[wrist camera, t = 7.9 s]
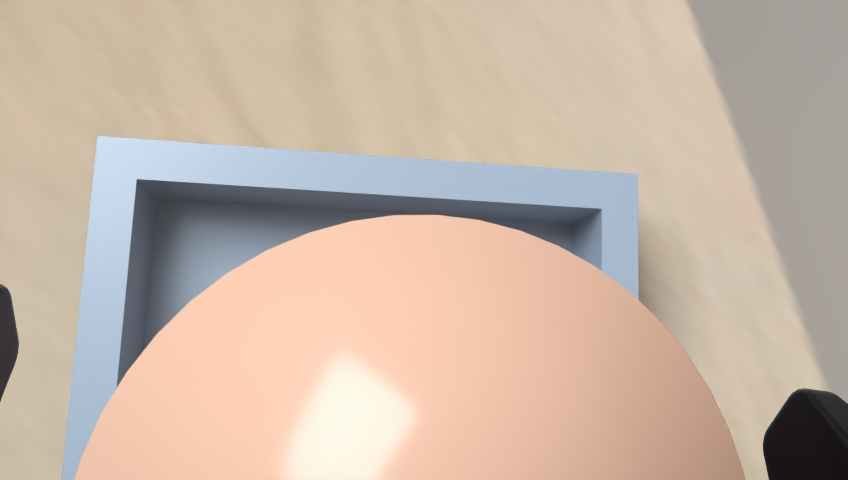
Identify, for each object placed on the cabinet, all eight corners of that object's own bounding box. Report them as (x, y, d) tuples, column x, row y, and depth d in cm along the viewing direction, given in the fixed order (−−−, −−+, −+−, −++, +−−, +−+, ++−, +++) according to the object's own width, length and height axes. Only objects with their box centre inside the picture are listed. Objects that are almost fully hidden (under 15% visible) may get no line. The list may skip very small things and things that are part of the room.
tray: (595, 680, 17) (642, 735, 14) (77, 692, 15) (31, 755, 13) (595, 197, 19) (637, 174, 16) (129, 167, 17) (97, 135, 15)
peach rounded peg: (475, 555, 16) (770, 940, 5) (228, 555, 16) (12, 986, 5) (481, 313, 17) (746, 232, 6) (246, 303, 16) (95, 196, 6)
